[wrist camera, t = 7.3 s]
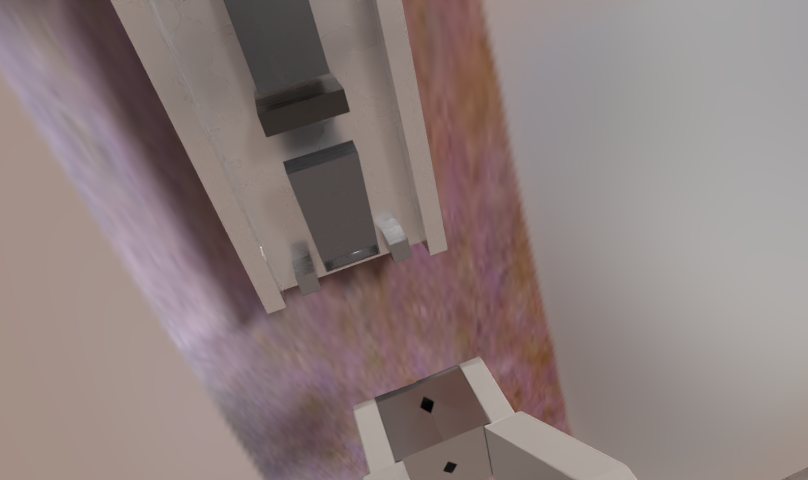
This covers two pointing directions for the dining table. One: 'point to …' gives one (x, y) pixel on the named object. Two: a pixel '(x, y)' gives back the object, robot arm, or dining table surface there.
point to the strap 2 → (334, 204)
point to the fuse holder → (293, 129)
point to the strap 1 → (278, 41)
